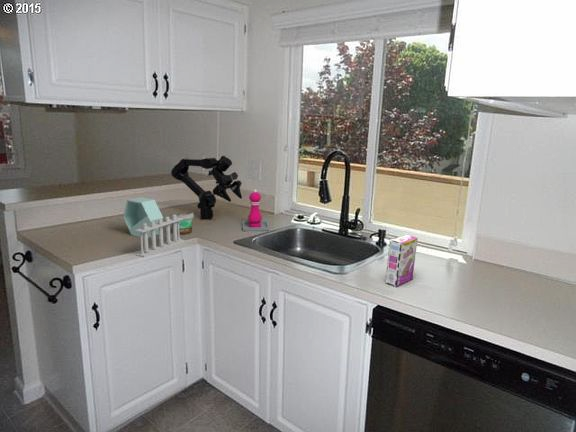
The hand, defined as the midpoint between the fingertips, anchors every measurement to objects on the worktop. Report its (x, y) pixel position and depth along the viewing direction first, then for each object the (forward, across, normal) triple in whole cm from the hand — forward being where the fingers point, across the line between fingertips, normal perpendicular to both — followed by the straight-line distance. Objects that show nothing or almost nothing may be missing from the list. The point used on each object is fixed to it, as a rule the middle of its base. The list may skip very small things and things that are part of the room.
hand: (236, 199), depth 211 cm
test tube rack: (+8, -51, +9) cm, 53 cm away
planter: (-7, -43, +25) cm, 50 cm away
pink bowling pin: (+18, 0, 0) cm, 18 cm away
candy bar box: (+77, -27, -61) cm, 102 cm away
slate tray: (+18, 0, 0) cm, 19 cm away
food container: (+3, -29, +16) cm, 33 cm away
